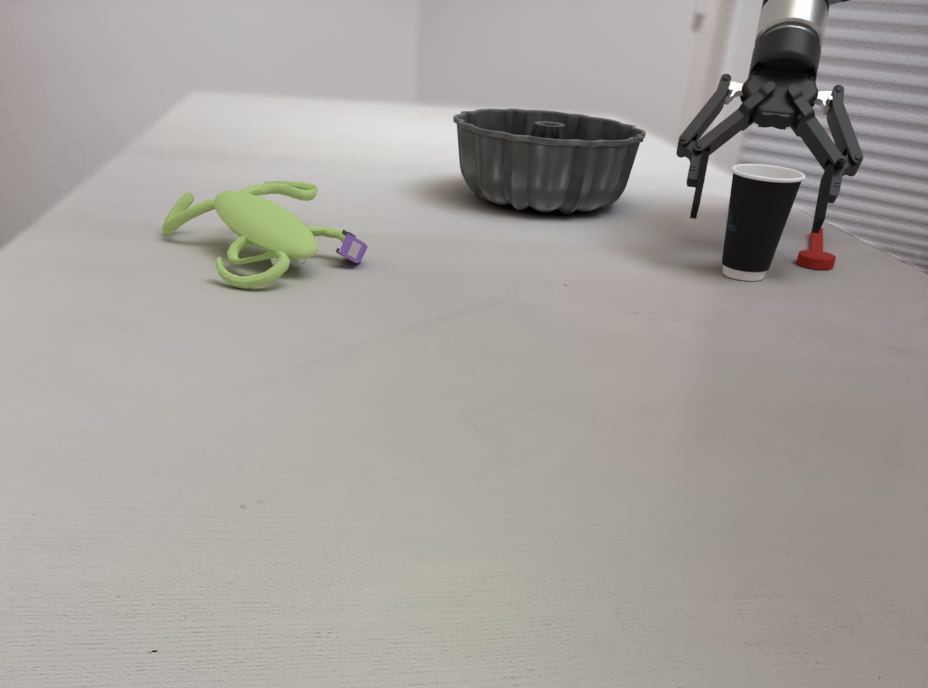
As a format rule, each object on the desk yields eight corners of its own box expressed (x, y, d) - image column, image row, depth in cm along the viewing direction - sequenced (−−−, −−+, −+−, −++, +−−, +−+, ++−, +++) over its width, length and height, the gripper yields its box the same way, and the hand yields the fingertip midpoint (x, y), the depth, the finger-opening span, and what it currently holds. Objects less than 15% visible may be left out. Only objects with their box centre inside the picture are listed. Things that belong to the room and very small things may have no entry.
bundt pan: (539, 174, 145) (546, 102, 139) (671, 210, 130) (686, 132, 124) (411, 191, 131) (413, 112, 125) (543, 235, 116) (553, 147, 110)
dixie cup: (792, 280, 106) (821, 176, 99) (744, 288, 102) (770, 180, 95) (742, 262, 111) (766, 161, 104) (694, 268, 107) (716, 165, 101)
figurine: (299, 217, 116) (297, 168, 113) (396, 277, 98) (398, 221, 95) (154, 228, 108) (147, 176, 105) (231, 295, 90) (226, 235, 87)
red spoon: (832, 237, 123) (835, 227, 123) (833, 272, 110) (836, 261, 109) (799, 232, 124) (801, 223, 124) (795, 266, 111) (798, 256, 110)
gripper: (888, 84, 107) (860, 251, 104) (674, 63, 111) (641, 224, 108) (912, 33, 99) (882, 211, 97) (682, 13, 103) (647, 184, 101)
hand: (755, 219), depth 103 cm, fingers open, 13 cm apart
